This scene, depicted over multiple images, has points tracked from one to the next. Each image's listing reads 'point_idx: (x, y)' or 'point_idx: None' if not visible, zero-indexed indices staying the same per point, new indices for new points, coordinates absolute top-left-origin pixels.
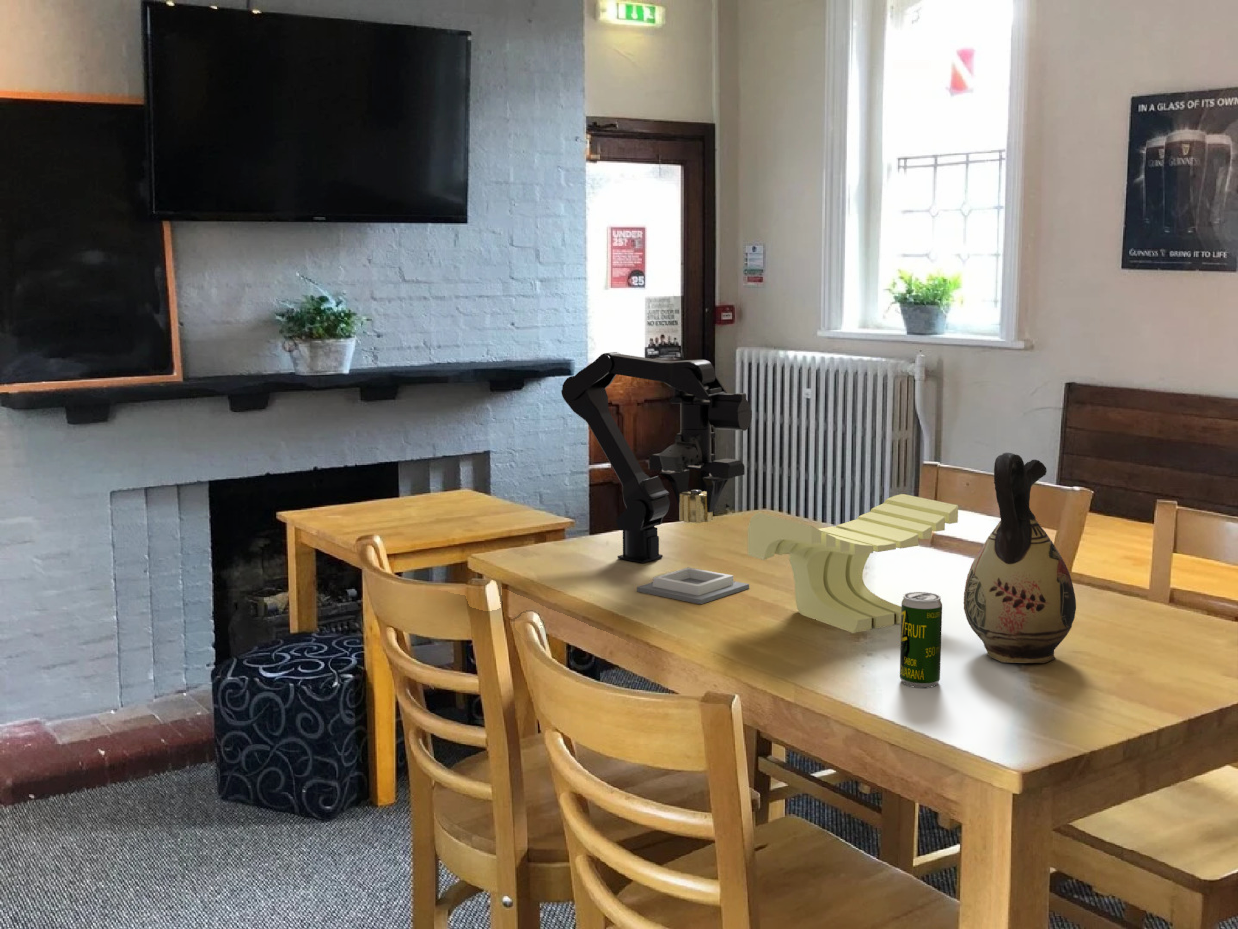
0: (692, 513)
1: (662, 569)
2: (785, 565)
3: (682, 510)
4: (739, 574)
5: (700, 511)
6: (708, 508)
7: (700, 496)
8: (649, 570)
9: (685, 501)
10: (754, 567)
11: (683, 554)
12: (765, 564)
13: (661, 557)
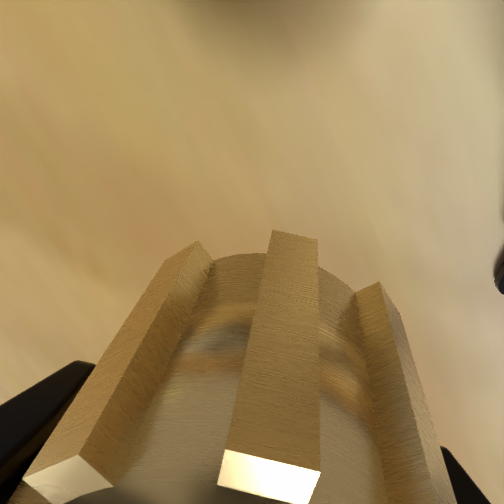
0: (222, 300)
1: (418, 68)
2: (11, 343)
3: (368, 355)
4: (46, 148)
5: (126, 323)
6: (57, 383)
7: (26, 481)
8: (486, 4)
9: (289, 383)
10: (73, 281)
11: (422, 369)
12: (71, 333)
13: (498, 273)
